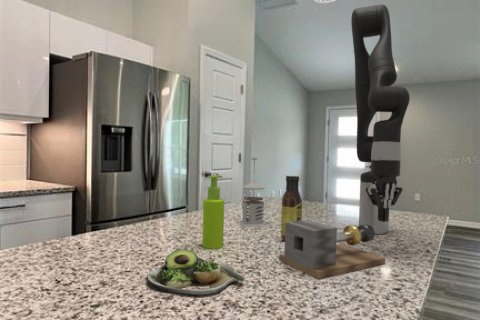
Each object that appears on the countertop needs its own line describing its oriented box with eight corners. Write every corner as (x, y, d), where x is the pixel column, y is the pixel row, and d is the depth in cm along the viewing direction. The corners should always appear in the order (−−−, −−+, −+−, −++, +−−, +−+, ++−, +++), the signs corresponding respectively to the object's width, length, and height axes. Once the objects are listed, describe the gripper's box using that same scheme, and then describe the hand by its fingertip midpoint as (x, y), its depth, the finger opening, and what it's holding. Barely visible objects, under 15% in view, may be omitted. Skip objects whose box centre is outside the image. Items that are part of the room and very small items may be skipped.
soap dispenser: (227, 243, 100) (229, 175, 99) (218, 250, 93) (219, 176, 93) (209, 241, 102) (210, 174, 101) (198, 247, 95) (200, 175, 95)
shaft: (359, 239, 94) (360, 221, 94) (375, 244, 90) (376, 225, 90) (304, 249, 84) (304, 228, 84) (318, 254, 80) (319, 233, 79)
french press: (270, 223, 129) (272, 157, 128) (255, 229, 119) (257, 157, 118) (248, 220, 134) (249, 156, 133) (231, 225, 124) (233, 156, 124)
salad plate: (257, 274, 77) (257, 253, 77) (224, 307, 60) (225, 281, 60) (182, 261, 84) (182, 243, 84) (134, 288, 68) (135, 265, 67)
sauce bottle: (300, 243, 102) (302, 176, 101) (279, 242, 103) (281, 176, 102) (301, 238, 108) (303, 175, 107) (281, 236, 109) (283, 174, 109)
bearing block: (341, 249, 97) (342, 214, 97) (385, 263, 85) (386, 223, 85) (279, 260, 86) (280, 220, 86) (319, 279, 74) (320, 232, 73)
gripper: (389, 159, 101) (387, 217, 102) (358, 157, 95) (355, 220, 95) (413, 159, 95) (410, 222, 95) (381, 158, 88) (378, 225, 89)
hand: (383, 221), depth 95 cm, fingers closed
